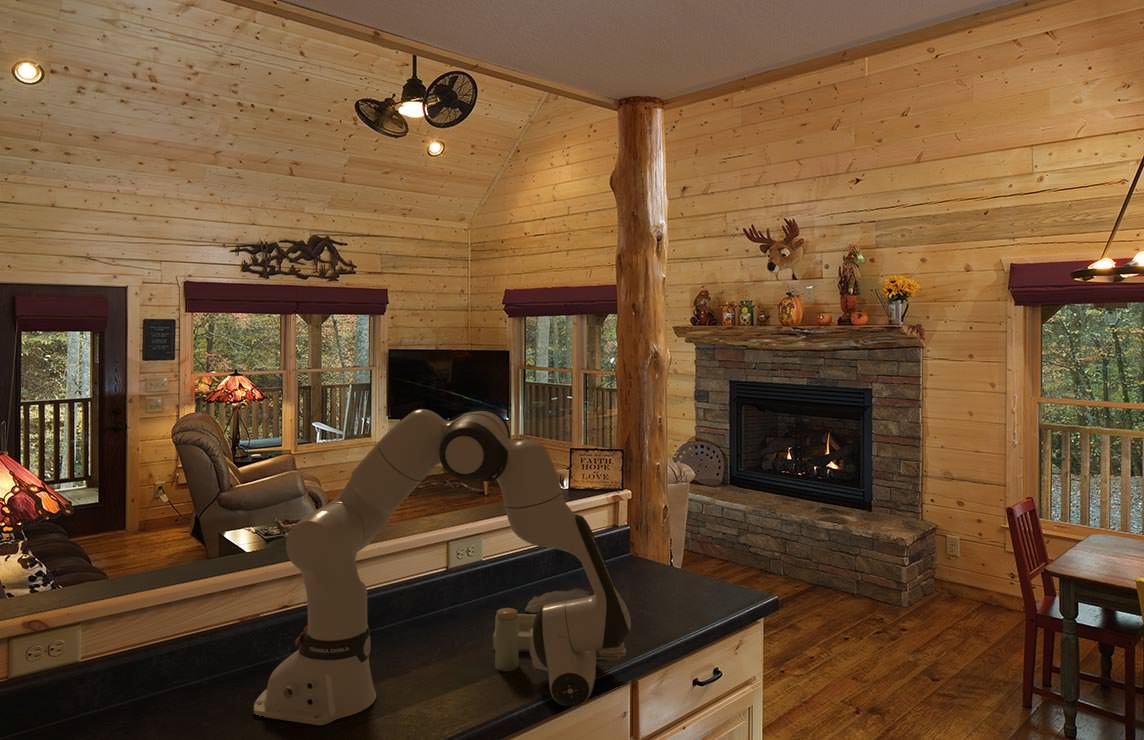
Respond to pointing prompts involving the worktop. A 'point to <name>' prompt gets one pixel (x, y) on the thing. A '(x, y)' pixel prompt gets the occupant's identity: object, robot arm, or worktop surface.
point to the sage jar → (506, 639)
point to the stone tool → (555, 598)
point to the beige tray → (523, 632)
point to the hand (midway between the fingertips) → (578, 628)
